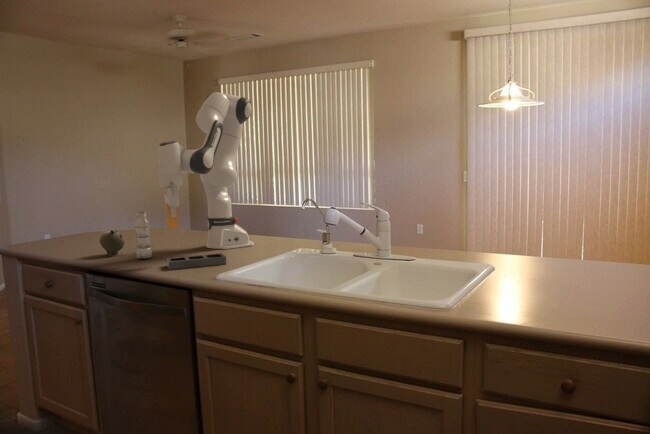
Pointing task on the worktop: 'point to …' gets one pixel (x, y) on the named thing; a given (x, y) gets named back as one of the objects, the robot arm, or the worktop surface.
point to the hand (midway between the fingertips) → (172, 216)
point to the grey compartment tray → (195, 261)
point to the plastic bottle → (143, 236)
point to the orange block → (171, 218)
